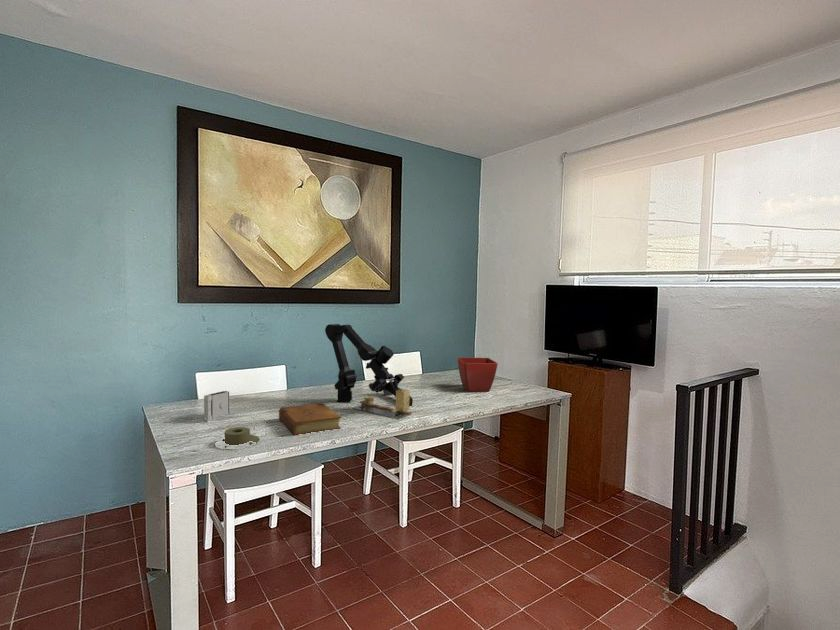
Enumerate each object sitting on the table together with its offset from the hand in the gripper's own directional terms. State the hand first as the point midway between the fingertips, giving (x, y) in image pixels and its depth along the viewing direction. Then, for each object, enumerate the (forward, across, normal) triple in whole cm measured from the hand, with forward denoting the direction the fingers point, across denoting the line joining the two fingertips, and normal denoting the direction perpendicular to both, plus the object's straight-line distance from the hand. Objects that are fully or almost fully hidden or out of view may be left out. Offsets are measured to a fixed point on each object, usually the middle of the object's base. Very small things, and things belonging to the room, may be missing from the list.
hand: (398, 396), depth 203 cm
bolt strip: (0, +5, -10) cm, 11 cm away
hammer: (-4, -18, -15) cm, 24 cm away
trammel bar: (0, +2, -10) cm, 10 cm away
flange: (-10, +67, -21) cm, 71 cm away
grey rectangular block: (-34, +55, -44) cm, 78 cm away
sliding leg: (+6, +2, -3) cm, 7 cm away
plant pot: (+10, -67, -1) cm, 67 cm away
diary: (-7, +37, -18) cm, 42 cm away
